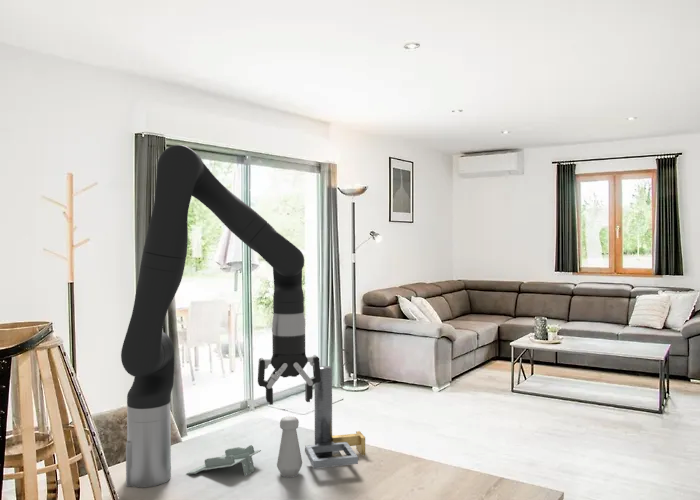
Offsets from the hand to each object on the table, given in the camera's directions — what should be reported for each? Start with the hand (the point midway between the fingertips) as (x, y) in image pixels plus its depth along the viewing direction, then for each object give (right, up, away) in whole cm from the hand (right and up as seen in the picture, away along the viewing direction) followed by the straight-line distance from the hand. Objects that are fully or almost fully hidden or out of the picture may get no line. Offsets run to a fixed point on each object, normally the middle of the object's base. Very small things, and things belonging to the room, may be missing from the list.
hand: (289, 402), depth 133 cm
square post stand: (+11, -16, +8) cm, 21 cm away
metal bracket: (-15, -17, +4) cm, 23 cm away
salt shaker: (0, -17, 0) cm, 17 cm away
